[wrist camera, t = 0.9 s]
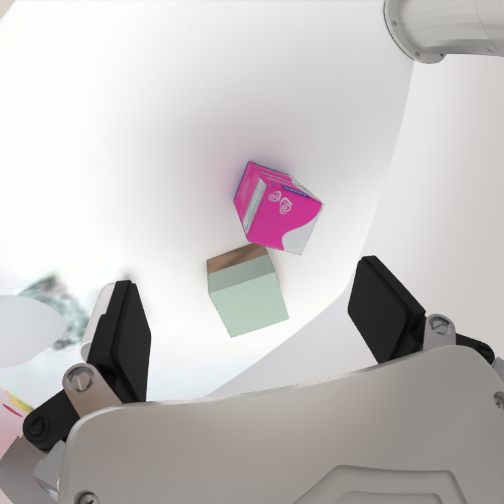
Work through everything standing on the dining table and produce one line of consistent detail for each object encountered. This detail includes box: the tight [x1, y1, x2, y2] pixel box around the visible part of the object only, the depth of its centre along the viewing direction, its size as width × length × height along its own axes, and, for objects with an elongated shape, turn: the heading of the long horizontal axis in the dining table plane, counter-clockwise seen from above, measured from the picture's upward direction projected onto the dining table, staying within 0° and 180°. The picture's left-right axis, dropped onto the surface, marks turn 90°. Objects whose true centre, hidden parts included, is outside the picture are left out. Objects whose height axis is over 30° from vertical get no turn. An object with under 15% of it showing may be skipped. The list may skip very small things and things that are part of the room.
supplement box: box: [234, 161, 324, 255], centre depth 31 cm, size 6×6×12 cm
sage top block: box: [207, 254, 289, 338], centre depth 37 cm, size 8×8×4 cm
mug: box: [79, 283, 116, 363], centre depth 34 cm, size 10×7×12 cm, turn 150°
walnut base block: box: [207, 243, 268, 274], centre depth 40 cm, size 8×8×4 cm
